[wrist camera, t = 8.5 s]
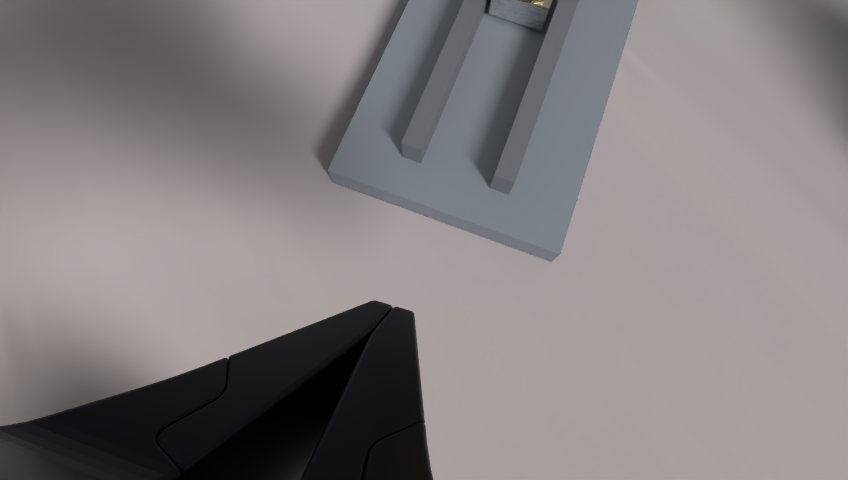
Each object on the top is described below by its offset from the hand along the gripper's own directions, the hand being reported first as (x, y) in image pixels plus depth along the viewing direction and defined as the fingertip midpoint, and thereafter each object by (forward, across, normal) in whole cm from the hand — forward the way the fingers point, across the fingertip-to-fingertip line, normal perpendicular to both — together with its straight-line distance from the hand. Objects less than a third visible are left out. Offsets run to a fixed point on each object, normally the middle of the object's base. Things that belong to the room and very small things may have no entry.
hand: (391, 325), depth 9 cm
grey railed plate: (+21, +1, -5) cm, 22 cm away
